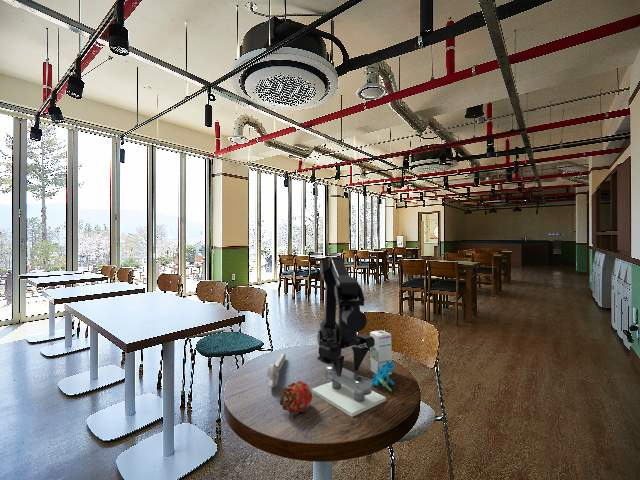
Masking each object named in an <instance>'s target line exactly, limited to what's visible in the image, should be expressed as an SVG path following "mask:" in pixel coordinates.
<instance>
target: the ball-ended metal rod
mask: <svg viewBox="0 0 640 480" xmlns="http://www.w3.org/2000/svg"><path fill="white" fill-rule="evenodd" d="M325 377H326V379H328V380H332V379H333V380H335V381H337V382H339V383H341V384H343V385H345V386H346V387H348V388H350V389H352V390H354V391H355V393H357V394H359V395H369V394H371V393H372V391H373V385H372V378H369V377H365V376H361V375H360V374H357V373H355V372H353V371H351V370H348V369H347V368H344V367H343V368H342V373H341V377H338V376H337V374H336V371H335V368H334V365H333V363H329V364H328V363H327V364H326V366H325Z"/></svg>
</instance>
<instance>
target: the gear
mask: <svg viewBox="0 0 640 480" xmlns="http://www.w3.org/2000/svg"><path fill="white" fill-rule="evenodd" d="M394 368H395V363H394V362H393V361H390V362H389V361H388V362H387V363H386V365H385V364H383V365H382V368H381V370H380V369H378V370H377V372H378V374H377V375H376V374H374V373H373V376H372V378H371V380H372V387H375V386H376V387H377V386H379V384H381V385H382V387H383V388H386V389H387V390H388V391H389V392H392V391H393V390H392V388H391V387H390V386H389V385H388V383H389V384H390V385H391V386H395V382H394V381H393V380H392V379H391V378H390V375H388V372H390V373H391V372H392V373H393V370H394Z"/></svg>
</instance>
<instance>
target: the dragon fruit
mask: <svg viewBox="0 0 640 480" xmlns="http://www.w3.org/2000/svg"><path fill="white" fill-rule="evenodd" d="M280 391H281V397H280V400H279V404H280V405H281V406H282V407H281V408H282V410H283V411H288V412H289V414H290V415H293V416H294V415H295V416H296V415H297V414H298V413H299V412H301V413H304V412H308V410H309V409H308V405H310V404H311V401H312V400H313V393H312V391H311V388H310V387H309V385H308V383H306V382H303V381H302V380H298V381H297V382H296V383H295V382H292V383H289V384H288V387H283V388H282V389H281V390H280Z"/></svg>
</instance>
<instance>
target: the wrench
mask: <svg viewBox="0 0 640 480" xmlns="http://www.w3.org/2000/svg"><path fill="white" fill-rule="evenodd" d="M285 361H286V353H283V352H282V353H280V354H279V356H278V358H277V359H276V361H275V362H274V363H269V364H268V367H267V370H266V371H267V373H266V376H267V378H269V381H268V387H269V388H270V389H271V388H276V386H277V385H276V383H277V379H278V375H279V372H280V371H281V369H282V367H283V365H284V363H285Z"/></svg>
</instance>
